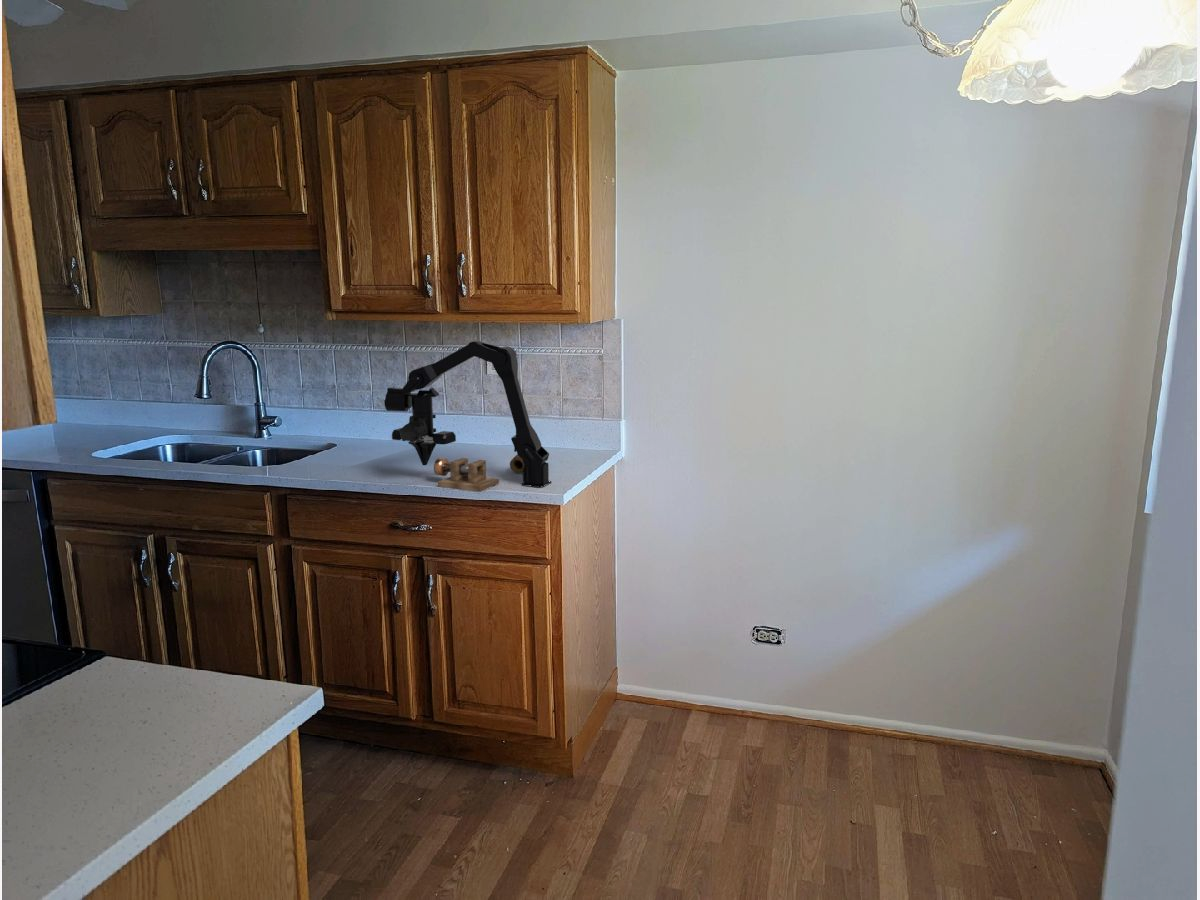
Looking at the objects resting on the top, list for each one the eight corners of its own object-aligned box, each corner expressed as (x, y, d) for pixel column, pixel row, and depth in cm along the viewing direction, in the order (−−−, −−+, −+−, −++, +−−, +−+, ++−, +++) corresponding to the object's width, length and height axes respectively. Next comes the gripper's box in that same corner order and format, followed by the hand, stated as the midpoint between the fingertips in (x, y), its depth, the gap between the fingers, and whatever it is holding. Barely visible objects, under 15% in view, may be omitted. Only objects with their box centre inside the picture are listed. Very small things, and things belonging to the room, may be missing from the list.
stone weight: (525, 464, 271) (525, 443, 270) (546, 465, 269) (546, 444, 268) (508, 474, 257) (507, 452, 256) (530, 476, 255) (529, 454, 254)
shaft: (480, 477, 244) (480, 460, 243) (471, 481, 239) (470, 463, 238) (444, 473, 249) (443, 456, 248) (434, 476, 245) (433, 459, 244)
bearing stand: (499, 484, 245) (498, 460, 243) (480, 491, 236) (479, 467, 234) (457, 479, 250) (457, 455, 249) (437, 486, 242) (437, 462, 240)
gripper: (378, 413, 242) (381, 467, 245) (432, 418, 234) (435, 473, 237) (402, 408, 252) (405, 460, 255) (455, 412, 244) (457, 465, 247)
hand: (424, 465), depth 248 cm, fingers closed
